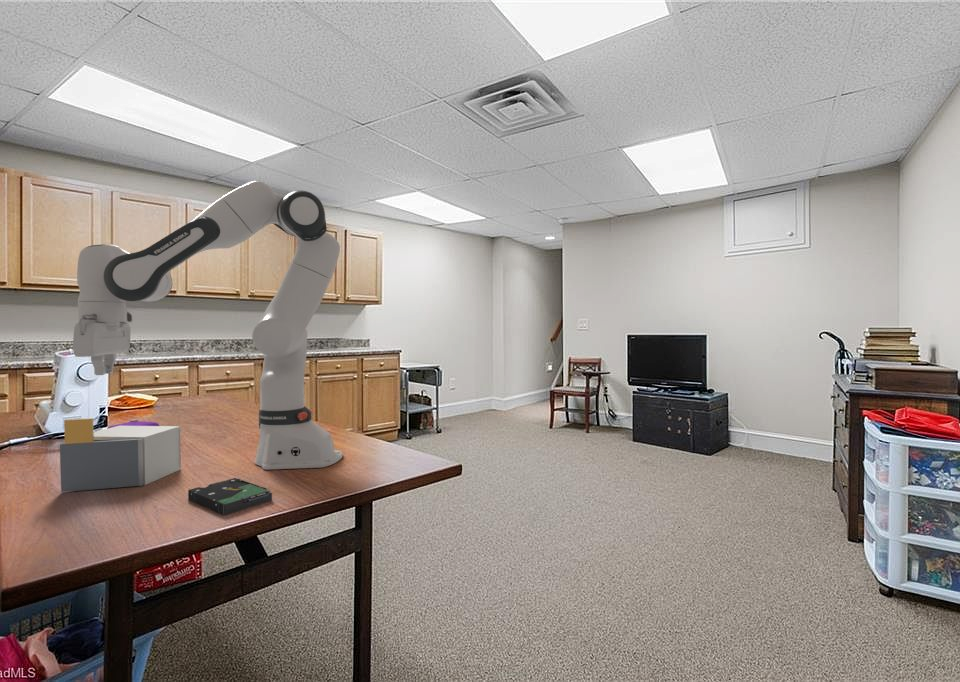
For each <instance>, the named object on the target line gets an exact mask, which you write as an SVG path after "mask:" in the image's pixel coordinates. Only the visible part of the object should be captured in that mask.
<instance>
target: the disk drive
mask: <svg viewBox="0 0 960 682" xmlns="http://www.w3.org/2000/svg"><path fill="white" fill-rule="evenodd" d="M187 493H188V495H187V496H188V497H187V499H188V501H189V502H192V503H194V504H196V505H199V506H201V507H203V508H206V509H208V510H210V511H212V512H215V513H216V514H218V515H221V516H227V515H231V514H233V513H237V512H239V511H243V510H246V509H250V508H252V507H256V506H259V505H261V504H265V503H269V502H271V501H273V493H272V492H271V491H270V489H267V487H263V486H261V485H257V484H256V483H255V484H254V483H251V482H248V481H245V480H243V479H240V478H236V477H233V478H229V479H226V480H223V481H218V482H215V483H214V482H213V483H210V484H209V485H207V486H206V487H200V486H198V487H194V488H191V489H188V490H187Z"/></svg>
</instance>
